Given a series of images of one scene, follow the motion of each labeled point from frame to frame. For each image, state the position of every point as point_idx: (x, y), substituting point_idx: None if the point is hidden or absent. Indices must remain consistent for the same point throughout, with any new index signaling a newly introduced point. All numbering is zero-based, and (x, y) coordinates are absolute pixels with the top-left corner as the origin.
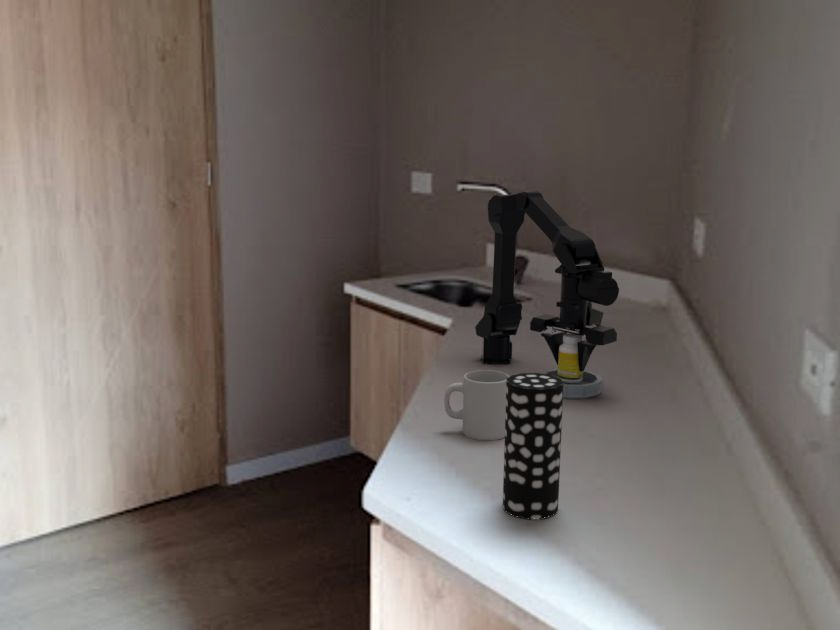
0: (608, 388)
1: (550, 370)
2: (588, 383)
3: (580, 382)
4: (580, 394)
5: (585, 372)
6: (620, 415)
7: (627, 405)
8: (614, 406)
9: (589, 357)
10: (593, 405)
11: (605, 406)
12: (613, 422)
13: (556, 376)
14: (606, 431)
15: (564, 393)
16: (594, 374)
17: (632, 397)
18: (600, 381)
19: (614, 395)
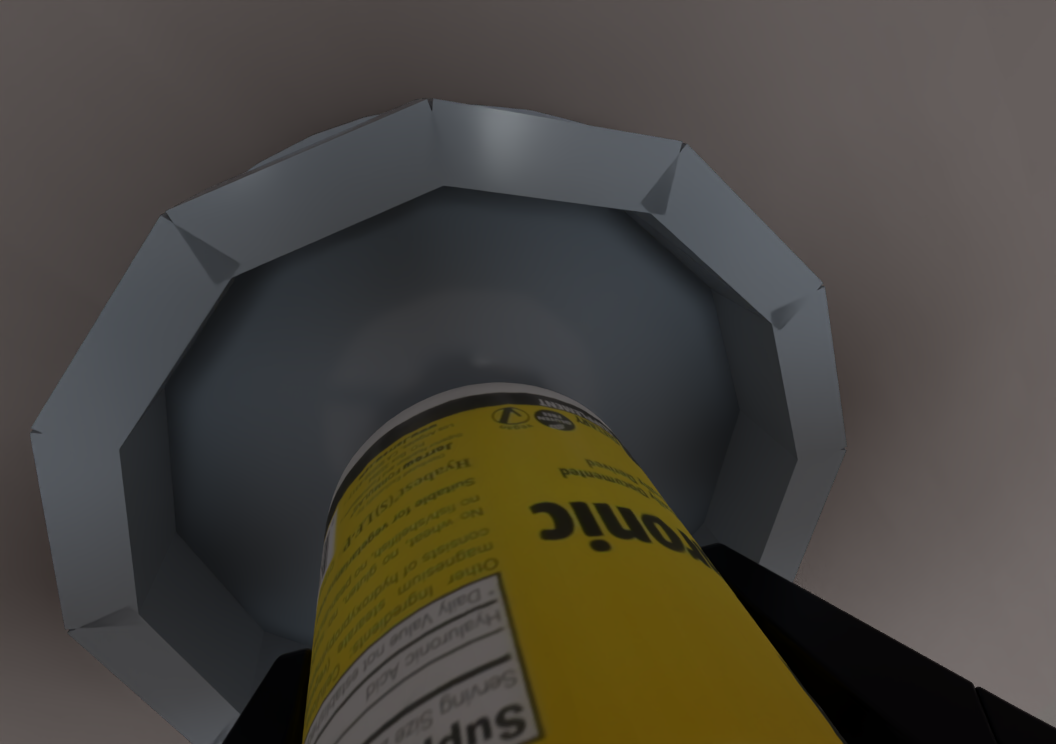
0: (710, 60)
1: (84, 571)
2: (779, 515)
3: (451, 284)
4: None
5: (435, 185)
6: (1049, 518)
7: (1038, 339)
8: (967, 434)
9: (949, 675)
10: (844, 536)
11: (917, 484)
12: (1045, 614)
13: (156, 449)
14: (1049, 701)
15: None
16: (623, 185)
17: (1019, 121)
18: (831, 350)
19: (866, 219)
